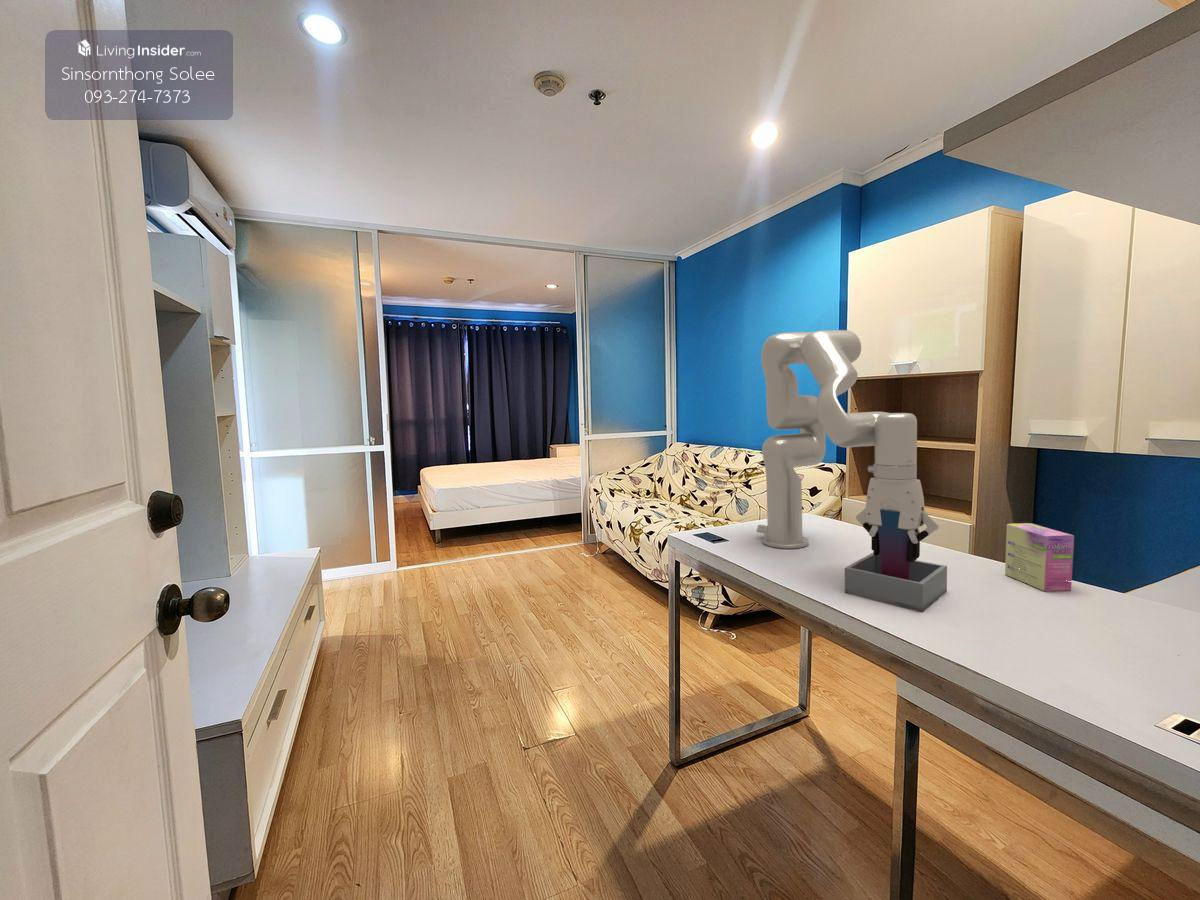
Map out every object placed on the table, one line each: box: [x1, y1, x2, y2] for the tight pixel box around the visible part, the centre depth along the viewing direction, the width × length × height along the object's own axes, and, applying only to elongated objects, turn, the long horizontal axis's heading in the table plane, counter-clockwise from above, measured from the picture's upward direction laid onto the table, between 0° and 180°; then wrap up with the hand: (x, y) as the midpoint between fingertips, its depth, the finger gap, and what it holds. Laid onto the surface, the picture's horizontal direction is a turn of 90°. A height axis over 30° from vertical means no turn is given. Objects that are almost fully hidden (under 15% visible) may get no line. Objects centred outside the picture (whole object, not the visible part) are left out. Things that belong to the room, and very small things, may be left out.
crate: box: [844, 552, 948, 613], centre depth 106 cm, size 15×15×6 cm
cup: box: [878, 509, 911, 580], centre depth 105 cm, size 7×7×15 cm
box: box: [1004, 522, 1075, 592], centre depth 107 cm, size 10×6×12 cm, turn 179°
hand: (894, 556), depth 105 cm, fingers closed on cup, 6 cm apart
